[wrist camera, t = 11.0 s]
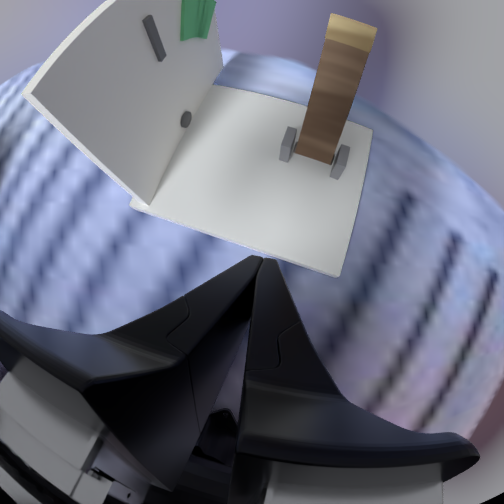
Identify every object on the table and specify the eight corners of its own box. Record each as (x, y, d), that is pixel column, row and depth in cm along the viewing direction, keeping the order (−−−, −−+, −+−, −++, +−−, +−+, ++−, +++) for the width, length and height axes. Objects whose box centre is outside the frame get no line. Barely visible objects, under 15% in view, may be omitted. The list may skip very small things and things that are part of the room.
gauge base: (335, 278, 23) (480, 224, 6) (134, 209, 24) (6, 103, 8) (372, 116, 26) (436, -7, 9) (208, 71, 27) (181, -55, 10)
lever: (330, 170, 22) (379, 29, 12) (291, 157, 22) (328, 12, 12) (332, 158, 23) (376, 28, 13) (295, 146, 23) (330, 13, 13)
